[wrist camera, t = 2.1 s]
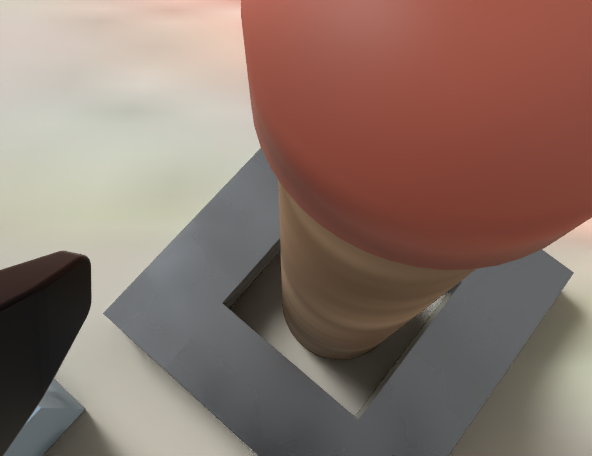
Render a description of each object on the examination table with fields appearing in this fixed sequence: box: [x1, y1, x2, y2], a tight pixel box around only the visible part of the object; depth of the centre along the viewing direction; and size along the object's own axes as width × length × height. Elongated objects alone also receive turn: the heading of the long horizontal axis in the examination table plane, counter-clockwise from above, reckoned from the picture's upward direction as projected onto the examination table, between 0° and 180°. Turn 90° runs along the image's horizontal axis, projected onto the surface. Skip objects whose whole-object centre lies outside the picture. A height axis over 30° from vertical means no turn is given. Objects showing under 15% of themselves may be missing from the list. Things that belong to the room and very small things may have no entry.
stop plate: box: [103, 148, 574, 456], centre depth 19 cm, size 11×11×2 cm
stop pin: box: [241, 0, 592, 359], centre depth 12 cm, size 5×5×15 cm
